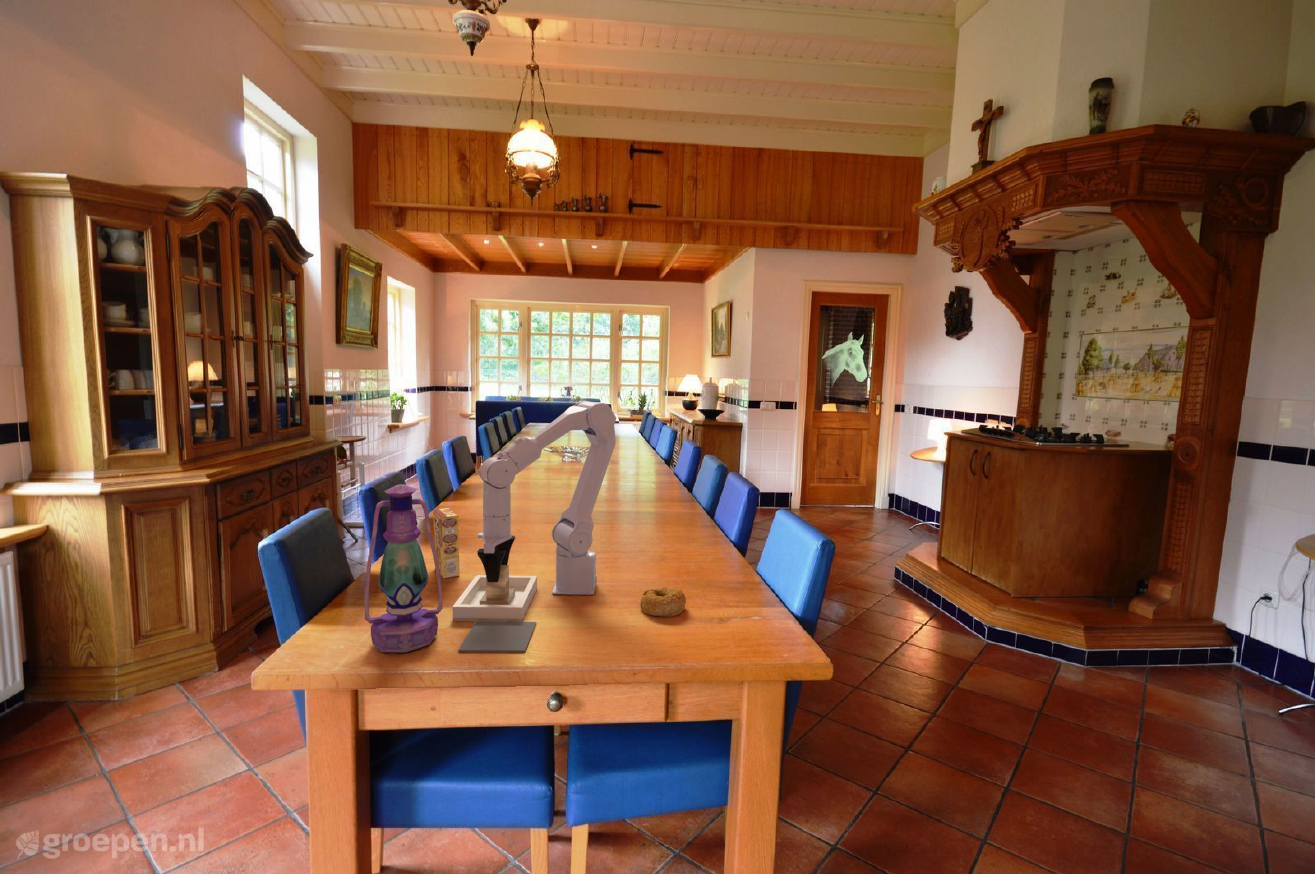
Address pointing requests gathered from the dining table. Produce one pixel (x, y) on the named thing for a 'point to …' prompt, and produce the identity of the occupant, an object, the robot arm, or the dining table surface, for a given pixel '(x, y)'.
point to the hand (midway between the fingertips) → (497, 575)
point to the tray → (495, 601)
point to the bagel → (663, 602)
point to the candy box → (446, 541)
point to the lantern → (402, 578)
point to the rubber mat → (498, 637)
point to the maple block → (499, 584)
